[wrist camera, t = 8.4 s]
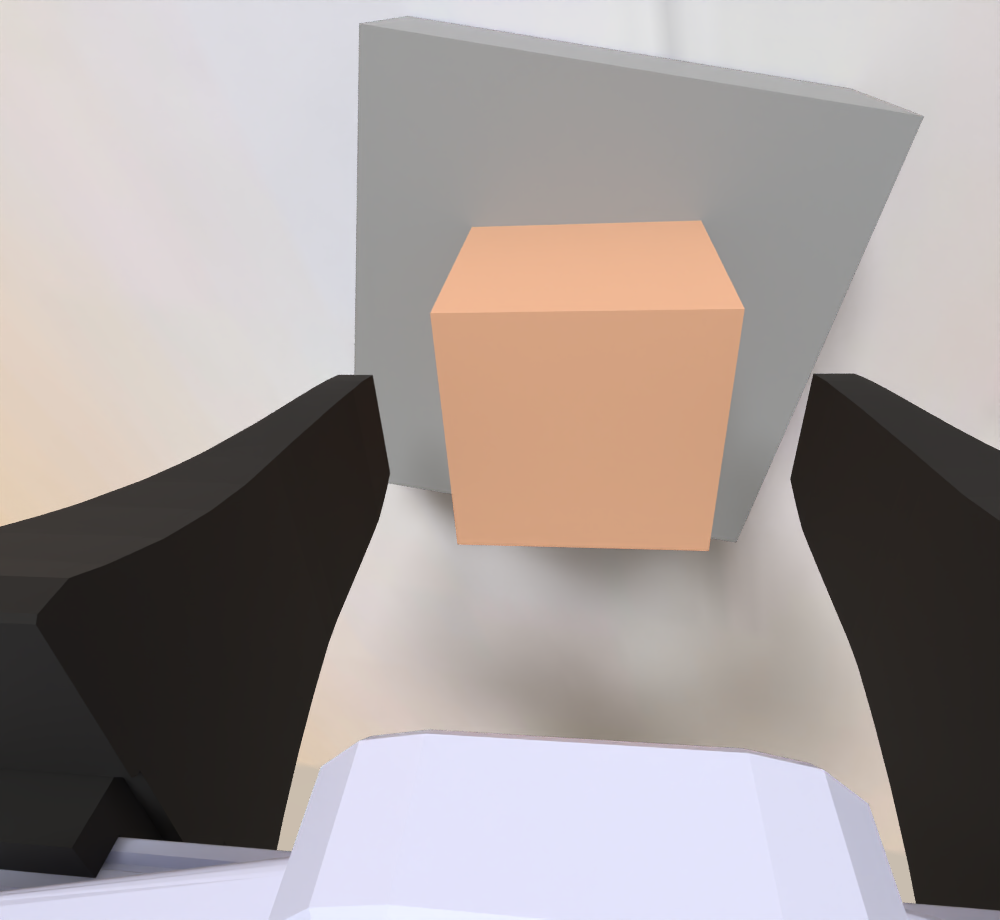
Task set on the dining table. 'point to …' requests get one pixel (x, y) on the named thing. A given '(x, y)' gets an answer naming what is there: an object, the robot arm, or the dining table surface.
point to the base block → (607, 204)
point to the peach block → (586, 384)
